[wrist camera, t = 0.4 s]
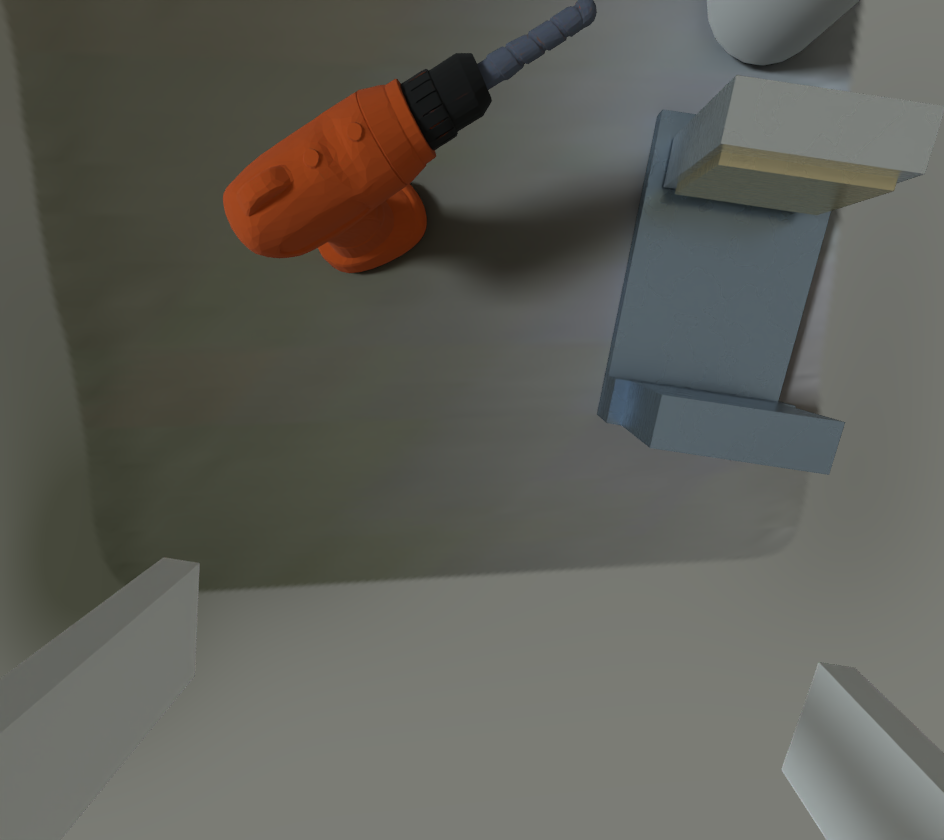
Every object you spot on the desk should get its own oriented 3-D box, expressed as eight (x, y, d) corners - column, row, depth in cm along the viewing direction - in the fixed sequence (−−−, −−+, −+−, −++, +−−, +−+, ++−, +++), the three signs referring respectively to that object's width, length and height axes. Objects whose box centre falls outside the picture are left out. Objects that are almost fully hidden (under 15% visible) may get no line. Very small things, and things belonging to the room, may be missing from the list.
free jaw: (674, 136, 31) (736, 75, 23) (830, 159, 31) (945, 106, 23) (661, 196, 32) (717, 156, 24) (814, 219, 32) (920, 187, 24)
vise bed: (657, 115, 32) (721, 38, 23) (840, 143, 32) (973, 76, 23) (596, 414, 36) (632, 445, 27) (759, 439, 36) (847, 477, 27)
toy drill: (592, 149, 31) (631, 31, 17) (348, 287, 36) (214, 285, 21) (561, 73, 30) (573, -120, 16) (314, 223, 35) (153, 178, 21)
